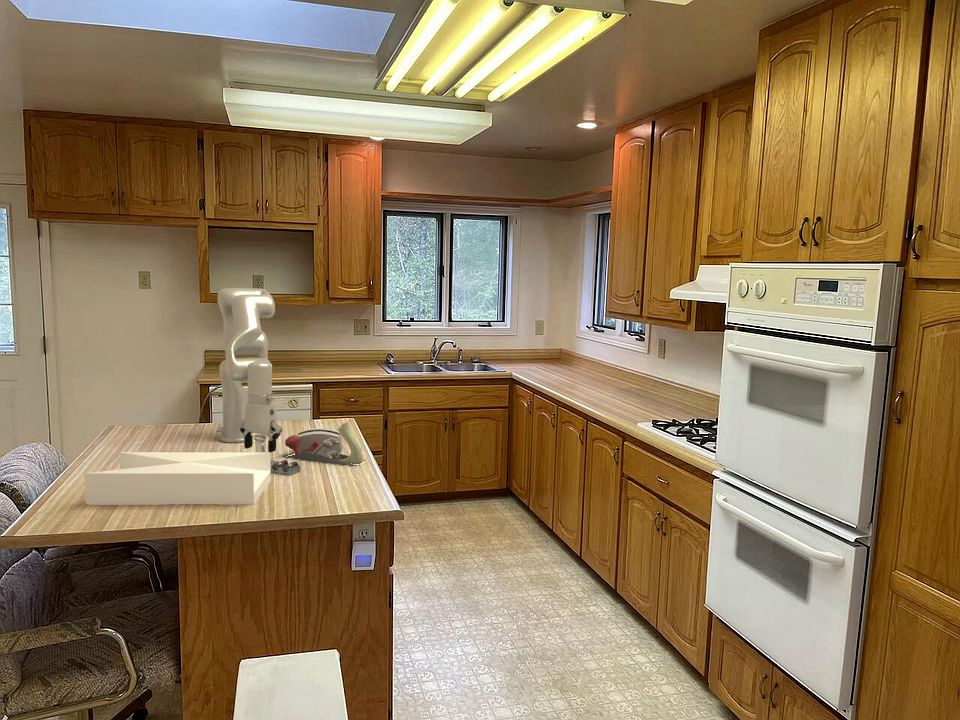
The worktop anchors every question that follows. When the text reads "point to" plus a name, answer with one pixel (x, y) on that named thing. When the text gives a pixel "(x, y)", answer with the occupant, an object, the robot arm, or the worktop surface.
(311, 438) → the beige arched grooved block
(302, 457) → the hand plane
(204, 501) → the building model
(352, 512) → the worktop surface
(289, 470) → the knobbed grey strip
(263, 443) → the pin
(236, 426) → the robot arm
